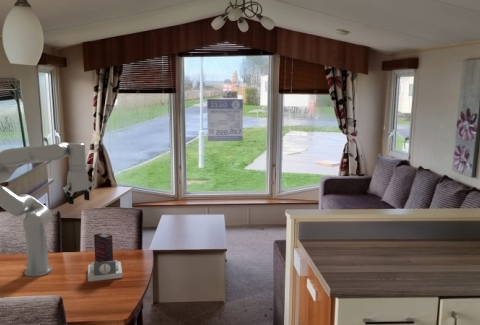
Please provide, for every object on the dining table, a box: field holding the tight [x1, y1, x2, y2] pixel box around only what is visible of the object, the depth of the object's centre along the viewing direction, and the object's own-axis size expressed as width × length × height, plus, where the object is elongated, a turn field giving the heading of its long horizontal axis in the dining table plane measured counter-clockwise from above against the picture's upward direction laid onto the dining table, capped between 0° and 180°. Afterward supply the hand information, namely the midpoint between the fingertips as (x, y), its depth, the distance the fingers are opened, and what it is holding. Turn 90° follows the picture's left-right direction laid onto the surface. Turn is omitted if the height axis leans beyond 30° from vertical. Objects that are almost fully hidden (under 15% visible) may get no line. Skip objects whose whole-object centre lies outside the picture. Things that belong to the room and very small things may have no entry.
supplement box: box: [93, 232, 114, 262], centre depth 219 cm, size 9×5×16 cm, turn 57°
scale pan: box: [90, 259, 119, 273], centre depth 220 cm, size 11×13×1 cm
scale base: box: [87, 259, 123, 282], centre depth 218 cm, size 16×16×8 cm
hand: (79, 201), depth 216 cm, fingers open, 9 cm apart
